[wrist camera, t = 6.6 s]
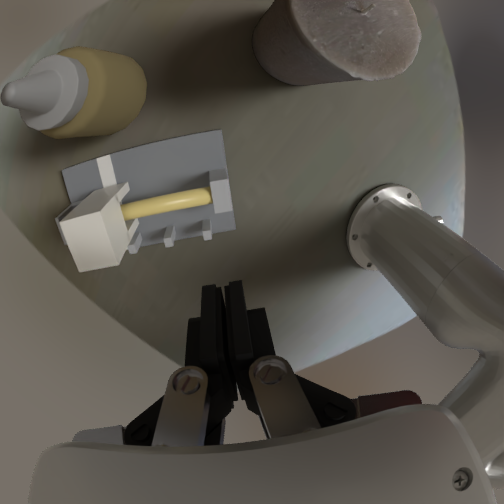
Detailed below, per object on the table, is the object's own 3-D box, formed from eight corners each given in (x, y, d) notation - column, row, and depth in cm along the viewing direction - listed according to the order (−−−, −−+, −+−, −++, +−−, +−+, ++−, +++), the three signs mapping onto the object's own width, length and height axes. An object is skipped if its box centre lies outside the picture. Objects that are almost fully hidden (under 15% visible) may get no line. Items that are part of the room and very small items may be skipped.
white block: (127, 181, 25) (100, 211, 18) (139, 223, 28) (118, 265, 21) (94, 190, 25) (59, 222, 18) (106, 230, 27) (79, 272, 20)
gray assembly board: (221, 128, 26) (224, 134, 21) (235, 225, 32) (241, 251, 26) (65, 168, 25) (38, 183, 20) (92, 252, 30) (75, 280, 25)
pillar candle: (246, 7, 20) (282, -63, 7) (335, 11, 20) (419, -29, 8) (257, 89, 25) (305, 76, 12) (344, 87, 25) (440, 90, 13)
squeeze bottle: (105, 147, 25) (-1, 207, 9) (72, 90, 21) (-50, 98, 5) (168, 103, 24) (108, 99, 9) (133, 44, 20) (47, -16, 5)
